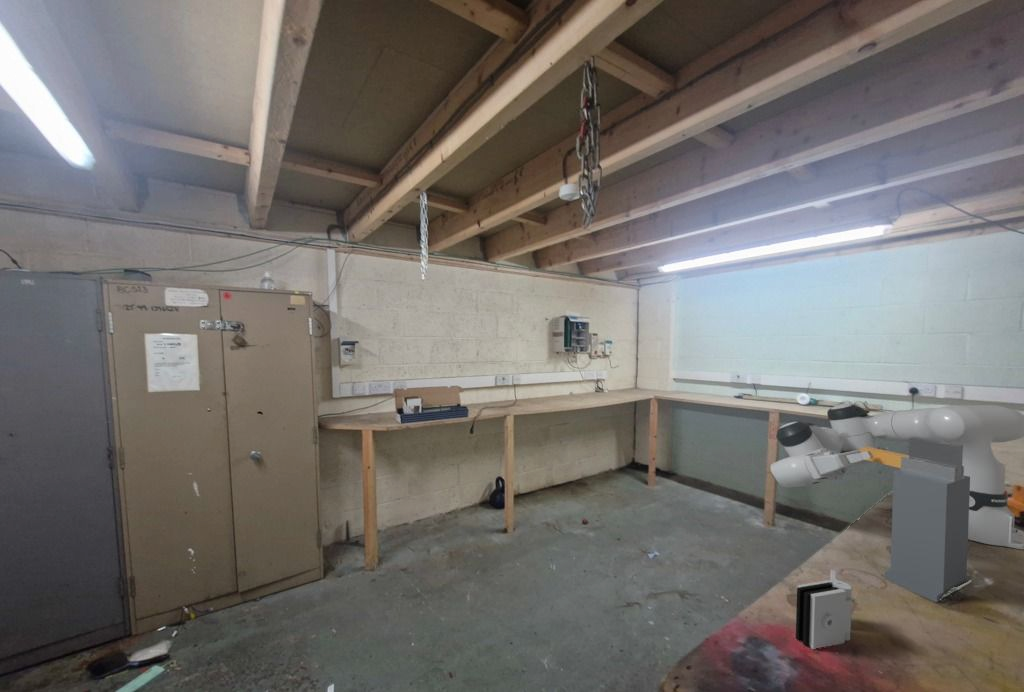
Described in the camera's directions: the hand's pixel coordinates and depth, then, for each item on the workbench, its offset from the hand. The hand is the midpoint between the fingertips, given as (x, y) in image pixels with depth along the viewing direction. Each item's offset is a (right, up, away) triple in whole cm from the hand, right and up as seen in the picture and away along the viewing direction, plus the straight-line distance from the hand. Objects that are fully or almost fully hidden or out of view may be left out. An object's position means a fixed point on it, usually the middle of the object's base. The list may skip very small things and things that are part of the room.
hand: (879, 452), depth 100 cm
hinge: (-36, -29, -25) cm, 52 cm away
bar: (+2, -3, -5) cm, 6 cm away
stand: (+3, -29, -8) cm, 30 cm away
